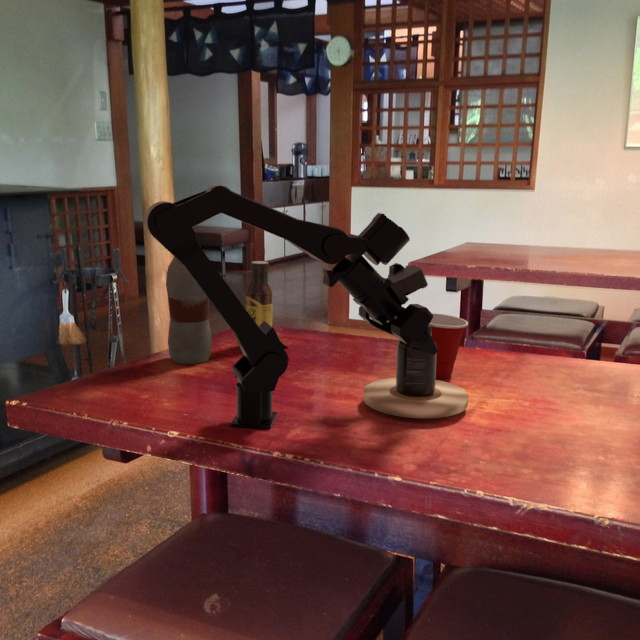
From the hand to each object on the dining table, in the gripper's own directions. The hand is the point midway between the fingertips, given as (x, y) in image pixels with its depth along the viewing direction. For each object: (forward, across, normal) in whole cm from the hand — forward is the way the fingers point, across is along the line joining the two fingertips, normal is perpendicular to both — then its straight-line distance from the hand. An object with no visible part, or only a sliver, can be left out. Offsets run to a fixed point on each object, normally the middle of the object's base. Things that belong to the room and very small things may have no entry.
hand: (423, 346), depth 115 cm
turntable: (+7, 0, +8) cm, 11 cm away
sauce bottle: (-5, +50, +20) cm, 54 cm away
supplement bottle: (+5, 0, +7) cm, 8 cm away
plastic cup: (+16, +16, -1) cm, 23 cm away
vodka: (-17, +41, +32) cm, 55 cm away
